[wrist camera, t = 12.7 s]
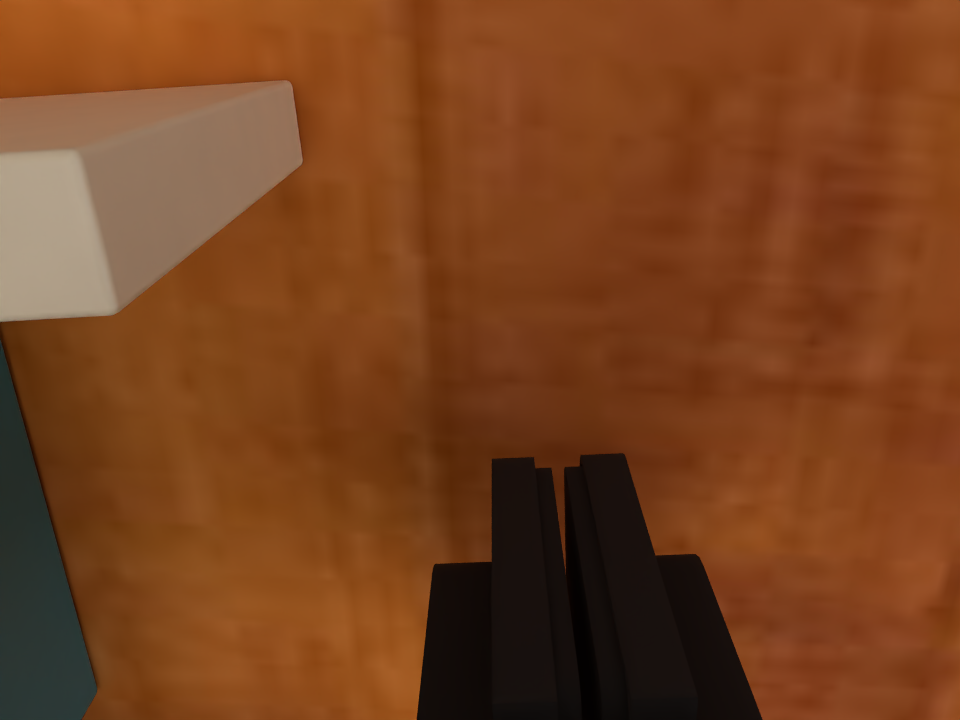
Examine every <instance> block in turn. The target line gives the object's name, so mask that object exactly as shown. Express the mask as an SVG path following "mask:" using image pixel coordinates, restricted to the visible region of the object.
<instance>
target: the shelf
mask: <svg viewBox="0 0 960 720" xmlns="http://www.w3.org/2000/svg"><path fill="white" fill-rule="evenodd" d="M302 162H303V158H302V151H301V144H300V137H299V130H298V123H297V116H296V109H295V102H294V95H293V88H292V85H291V83H290V82H289V81H286V80H279V81H264V82H248V83H233V84H218V85H202V86H187V87H171V88H156V89H141V90H125V91H110V92H95V93H79V94H64V95H48V96H33V97H18V98H2V99H0V322H7V321H24V320H42V319H59V318H77V317H94V316H112V315H114V314H116V313H118V312H120V311H121V310H122V309H123V308H125V307H126V306H127V305H128V304H130V303H131V302H132V301H133V300H135V299H136V298H137V297H138V296H140V295H141V294H142V293H143V292H144V291H146V290H147V289H148V288H149V287H151V286H152V285H153V284H154V283H156V282H157V281H158V280H159V279H161V278H162V277H163V276H164V275H166V274H167V273H168V272H169V271H171V270H172V269H173V268H174V267H175V266H177V265H178V264H179V263H180V262H182V261H183V260H184V259H185V258H187V257H188V256H189V255H190V254H192V253H193V252H194V251H195V250H197V249H198V248H199V247H200V246H202V245H203V244H204V243H205V242H207V241H208V240H209V239H210V238H211V237H213V236H214V235H215V234H216V233H218V232H219V231H220V230H221V229H223V228H224V227H225V226H226V225H228V224H229V223H230V222H231V221H233V220H234V219H235V218H236V217H238V216H239V215H240V214H241V213H242V212H244V211H245V210H246V209H247V208H249V207H250V206H251V205H252V204H254V203H255V202H256V201H257V200H259V199H260V198H261V197H262V196H264V195H265V194H266V193H267V192H269V191H270V190H271V189H272V188H274V187H275V186H276V185H277V184H278V183H280V182H281V181H282V180H283V179H285V178H286V177H287V176H288V175H290V174H291V173H292V172H293V171H295V170H296V169H297V168H298V167H300V166H301V165H302Z"/></svg>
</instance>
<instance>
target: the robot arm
mask: <svg viewBox="0 0 960 720" xmlns="http://www.w3.org/2000/svg"><path fill="white" fill-rule="evenodd" d="M564 495H565V551H566V574H565V566H564V559H563V551H562V544H561V536H560V529H559V521H558V513H557V506H556V498H555V491H554V483H553V476H552V469H551V468H535V462H534V457H525V458H502V459H492V562H474V563H448V564H435V565H434V567H433V573H432V581H431V590H430V600H429V609H428V619H427V628H426V638H425V647H424V656H423V666H422V675H421V685H420V694H419V704H418V713H417V720H762V717H761V715H760V712H759V709H758V707H757V704H756V702H755V699H754V696H753V694H752V691H751V689H750V686H749V683H748V681H747V678H746V676H745V673H744V670H743V668H742V665H741V662H740V660H739V657H738V655H737V652H736V649H735V647H734V644H733V642H732V639H731V636H730V634H729V631H728V629H727V626H726V623H725V621H724V618H723V616H722V613H721V610H720V608H719V605H718V603H717V600H716V597H715V595H714V592H713V589H712V587H711V584H710V582H709V579H708V576H707V574H706V571H705V569H704V566H703V564H702V562H701V560H700V558H699V557H698V556H697V555H696V554H683V555H657V556H655V553H654V550H653V546H652V543H651V540H650V536H649V533H648V530H647V527H646V523H645V520H644V517H643V513H642V510H641V507H640V503H639V500H638V497H637V493H636V490H635V487H634V484H633V480H632V477H631V474H630V470H629V467H628V464H627V460H626V457H625V455H624V454H623V453H619V454H596V455H581V456H580V466H579V467H565V468H564Z"/></svg>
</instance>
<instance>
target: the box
mask: <svg viewBox="0 0 960 720" xmlns="http://www.w3.org/2000/svg"><path fill="white" fill-rule="evenodd" d="M96 693H97V686H96V682H95V679H94V675H93V672H92V668H91V664H90V661H89V657H88V654H87V650H86V646H85V643H84V639H83V635H82V632H81V628H80V625H79V621H78V617H77V614H76V610H75V607H74V603H73V599H72V596H71V592H70V588H69V585H68V581H67V578H66V574H65V570H64V567H63V563H62V560H61V556H60V552H59V549H58V545H57V542H56V538H55V534H54V531H53V527H52V523H51V520H50V516H49V513H48V509H47V505H46V502H45V498H44V495H43V491H42V487H41V484H40V480H39V476H38V473H37V469H36V466H35V462H34V458H33V455H32V451H31V448H30V444H29V440H28V437H27V433H26V430H25V426H24V422H23V419H22V415H21V411H20V408H19V404H18V401H17V397H16V393H15V390H14V386H13V383H12V379H11V375H10V372H9V368H8V364H7V361H6V357H5V354H4V350H3V346H2V343H1V339H0V720H81V719H82V718H83V716H84V714H85V713H86V711H87V709H88V707H89V706H90V704H91V702H92V700H93V699H94V697H95V695H96Z"/></svg>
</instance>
